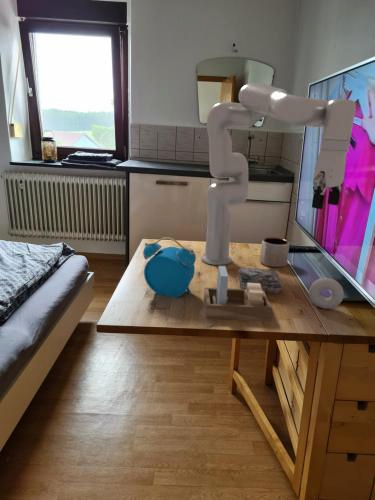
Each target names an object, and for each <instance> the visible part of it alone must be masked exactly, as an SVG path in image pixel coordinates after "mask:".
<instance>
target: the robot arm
mask: <svg viewBox="0 0 375 500" xmlns="http://www.w3.org/2000/svg"><path fill="white" fill-rule="evenodd" d="M238 101H239V102H230V101H222V102H218V103H216V104H214V105H213V106H212V107H211V108H210V110H209V112H208V114H207V116H206V130H207V136H208V146H209V147H208V151H209V152H208V153H209V155H208V156H209V161H208V162H209V172H210V176H211V177H213V178H215V179H228V181H218V182H215V183H211V184H210V185H209V186H208V187H207V189H206V192H205V199H206V200H205V201H206V206H207V213H206V214H207V217H206V218H207V219H206V221H207V222H206V233H205V234H206V235H205V238H206V239H205V253H203V254H202V255H201V256H200V260H201V261H202V262H203V263H205V264H209V265H213V266H226V265H227V266H228V265H229V264H231V263H232V262H233V257H232V256H230V243H231V230H232V214H231V211H230V209H229V207H232V206H238V205H239V206H240V205H242V204H244V203H245V202H246V201H247V198H248V197H249V163H248V160H247V158H246V157H245V155H244V154H243V153H240V152H233V141H232V136H231V134H230V132H229V130H228V128H232V129H247V128H251V127H252V126H254V125H256V123H258V122H259V121H261V119H263V118H264V117H266V116H269V117H272V118H273V119H275V120H278V121H280V122H284V123H287V124H290V125H295V126H298V127H312V128H322V134H321V135H322V136H321V141H320V147H319V149H320V150H319V153H318V157H317V159H316V163H315V164H316V165H315V169H314V172H313V173H314V175H313V179H312V189H313V191H312V194H313V196H312V200H311V201H312V203H311V208H313V209H317V210H318V209H319V210H323V209H324V204H325V197H326V195H324V194H325V192H326V190H327V189H330V190H329V192H328V198H327V204H328V205H332V206H338V205H339V202H340V198H341V197H340V196H341V192H342V187H343V185H344V183H343V182H344V180H345V172H346V171H345V170H346V163H347V162H346V161H347V154H348V153H349V150H350V149H349V147H350V143H351V136H352V131H353V126H354V121H355V120H354V119H355V113H356V108H357V107H356V106H357V104H356V101H354V100H352V99H344V98H342V99H340V98H339V99H331V100H328V99H327V100H325V99H319V98H313V97H312V98H310V97H303V96H298V95H294V94H290V93H288V92H287V91H286V90H285V89H283V88H279V87H275V86H273V85H271V84H265V83H257V82H251V83H250V82H249V83H247V84H245V85H243V86H242V87H241V88H240V90H239V92H238Z"/></svg>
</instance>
